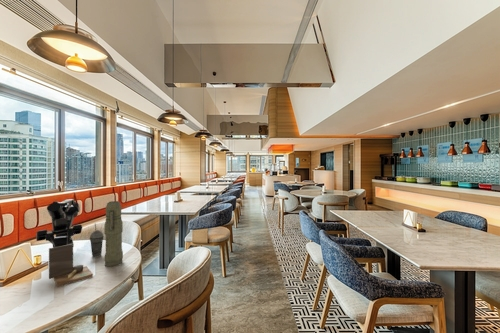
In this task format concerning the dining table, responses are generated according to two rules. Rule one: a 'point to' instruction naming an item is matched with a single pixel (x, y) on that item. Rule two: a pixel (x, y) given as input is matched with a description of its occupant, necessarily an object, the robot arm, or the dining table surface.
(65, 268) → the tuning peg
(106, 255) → the moai statue
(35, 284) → the dining table surface
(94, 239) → the beverage cup
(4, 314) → the dining table surface
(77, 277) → the dial plate
